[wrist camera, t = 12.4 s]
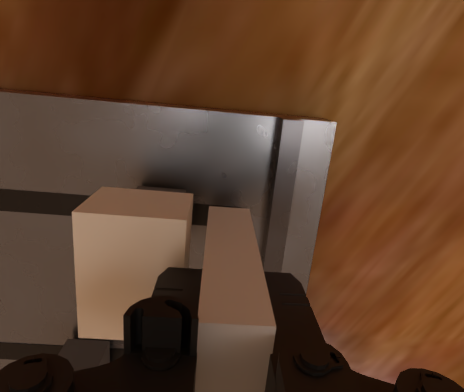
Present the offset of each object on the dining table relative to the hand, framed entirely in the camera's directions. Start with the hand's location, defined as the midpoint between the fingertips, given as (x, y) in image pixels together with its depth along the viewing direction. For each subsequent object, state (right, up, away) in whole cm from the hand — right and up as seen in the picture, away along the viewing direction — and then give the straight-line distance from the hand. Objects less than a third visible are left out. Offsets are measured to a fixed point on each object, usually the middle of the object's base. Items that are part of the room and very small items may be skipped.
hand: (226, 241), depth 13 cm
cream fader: (-3, +1, +2) cm, 4 cm away
